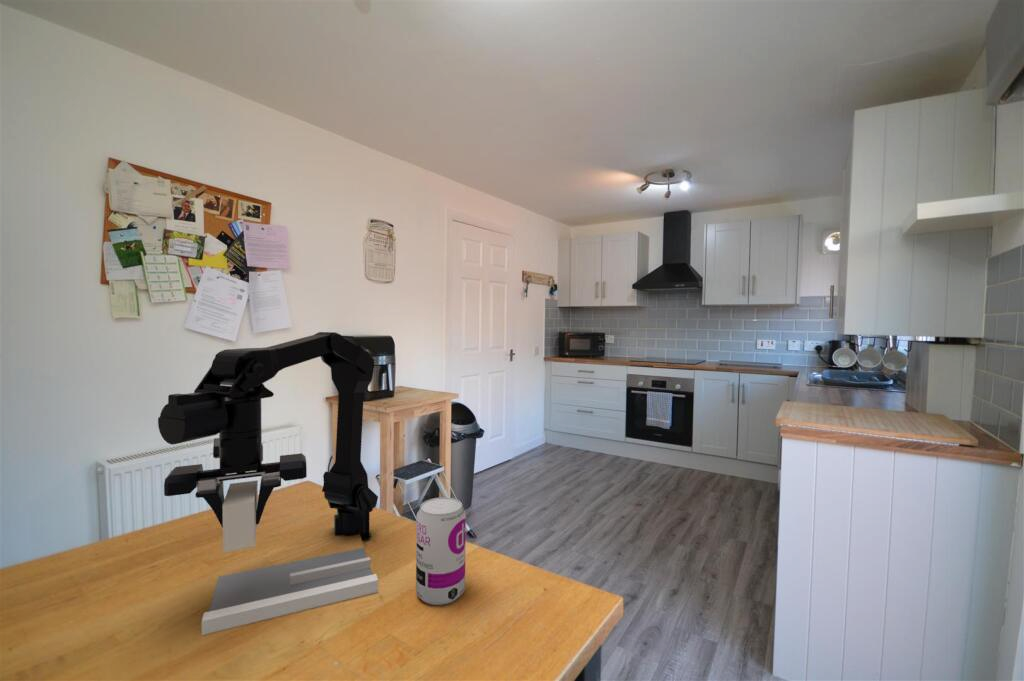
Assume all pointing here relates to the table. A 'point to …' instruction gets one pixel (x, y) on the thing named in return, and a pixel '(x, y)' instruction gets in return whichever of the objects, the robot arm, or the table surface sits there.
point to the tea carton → (240, 516)
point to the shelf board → (288, 589)
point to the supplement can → (440, 550)
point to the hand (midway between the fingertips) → (241, 526)
